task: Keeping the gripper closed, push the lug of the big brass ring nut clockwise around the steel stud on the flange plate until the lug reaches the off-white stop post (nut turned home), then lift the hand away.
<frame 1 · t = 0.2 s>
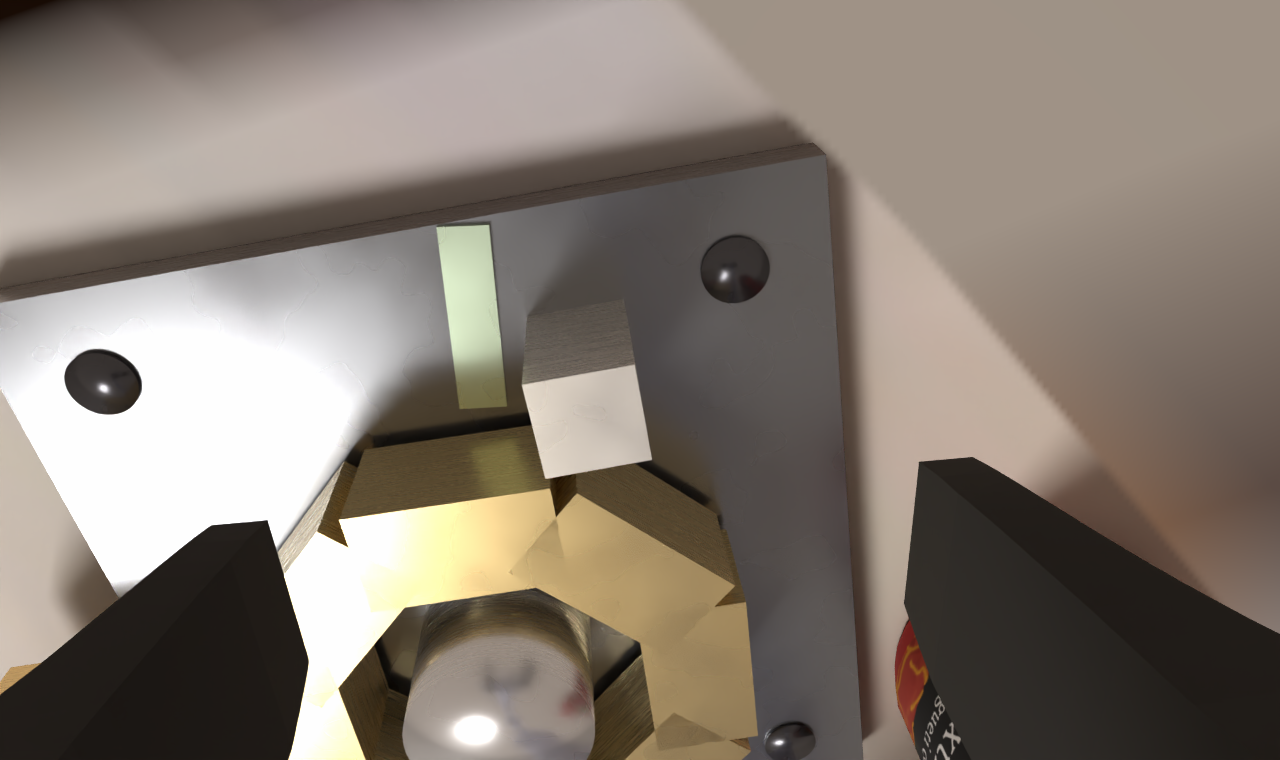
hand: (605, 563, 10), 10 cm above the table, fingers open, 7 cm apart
canned food: (1021, 638, 25), on the table
flange plate: (509, 593, 23), on the table
ring nut: (374, 687, 21), point 3 cm above the table, hinge at 88.0°
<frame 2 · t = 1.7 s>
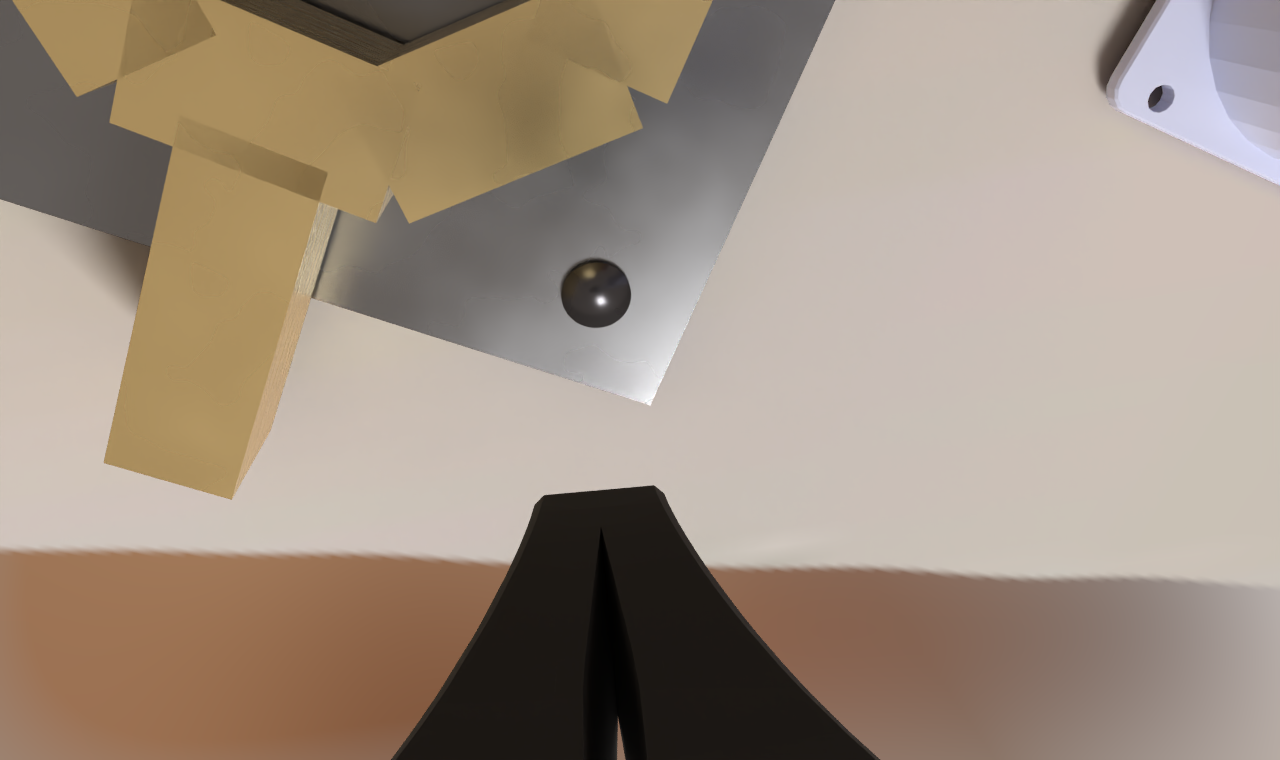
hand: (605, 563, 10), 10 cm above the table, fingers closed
ring nut: (310, 6, 14), point 3 cm above the table, hinge at 88.0°
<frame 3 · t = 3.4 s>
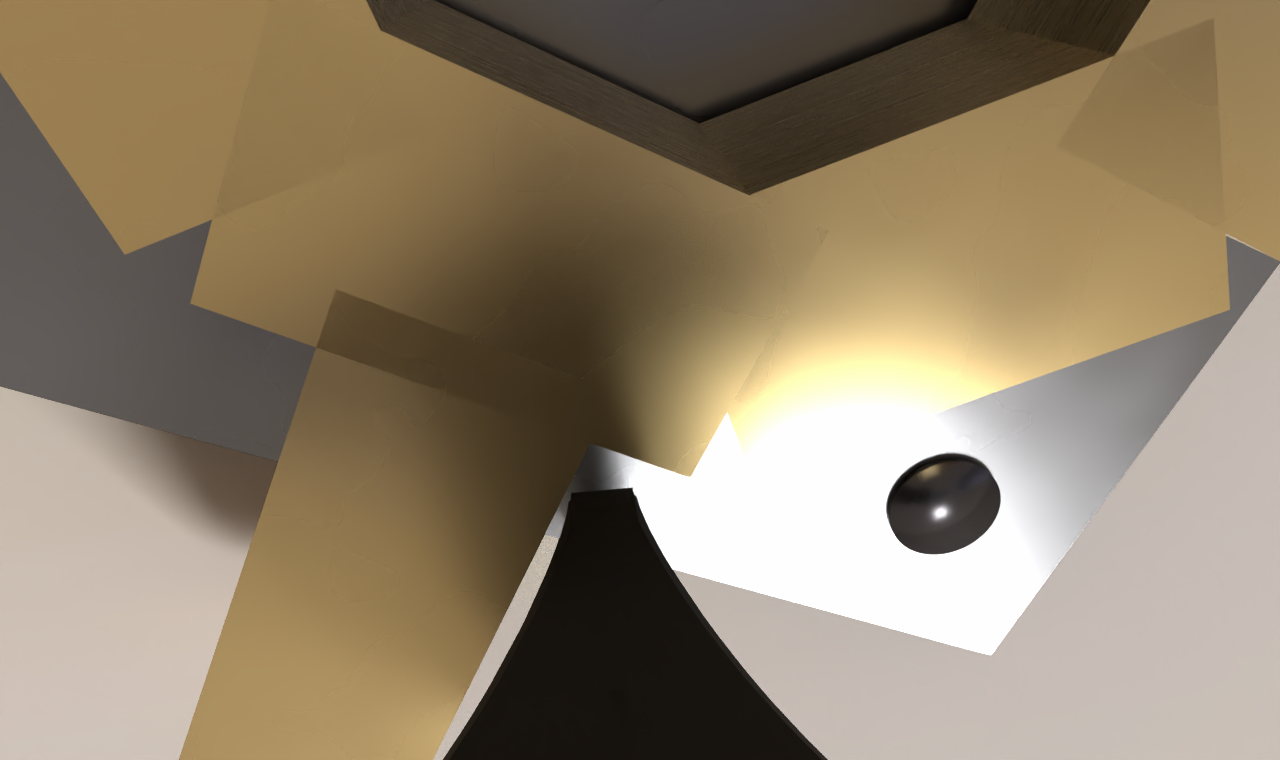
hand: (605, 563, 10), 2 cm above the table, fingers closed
ring nut: (582, 62, 7), point 3 cm above the table, hinge at 87.2°, touching gripper
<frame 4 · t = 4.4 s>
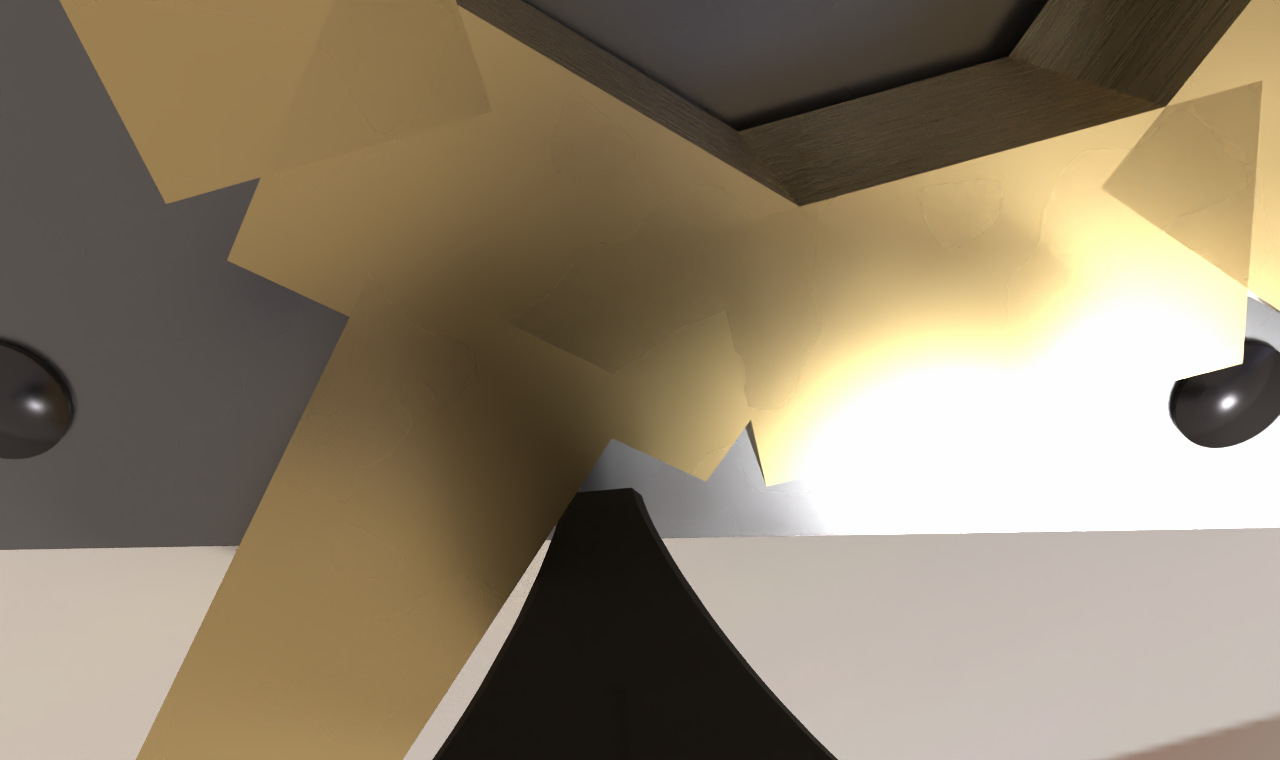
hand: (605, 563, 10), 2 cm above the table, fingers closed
ring nut: (639, 58, 7), point 3 cm above the table, hinge at 61.6°, touching gripper
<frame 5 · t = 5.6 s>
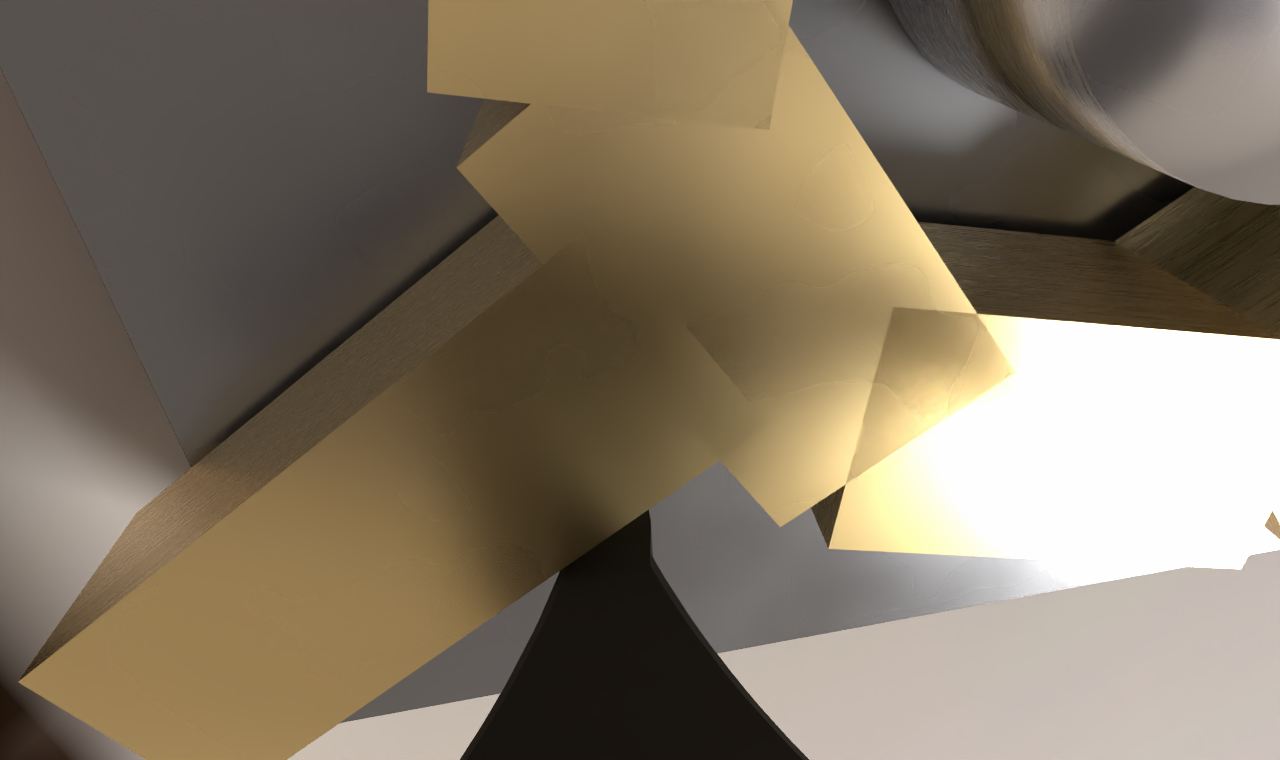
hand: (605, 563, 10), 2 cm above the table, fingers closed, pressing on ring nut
ring nut: (861, 126, 7), point 3 cm above the table, hinge at 28.5°, touching gripper
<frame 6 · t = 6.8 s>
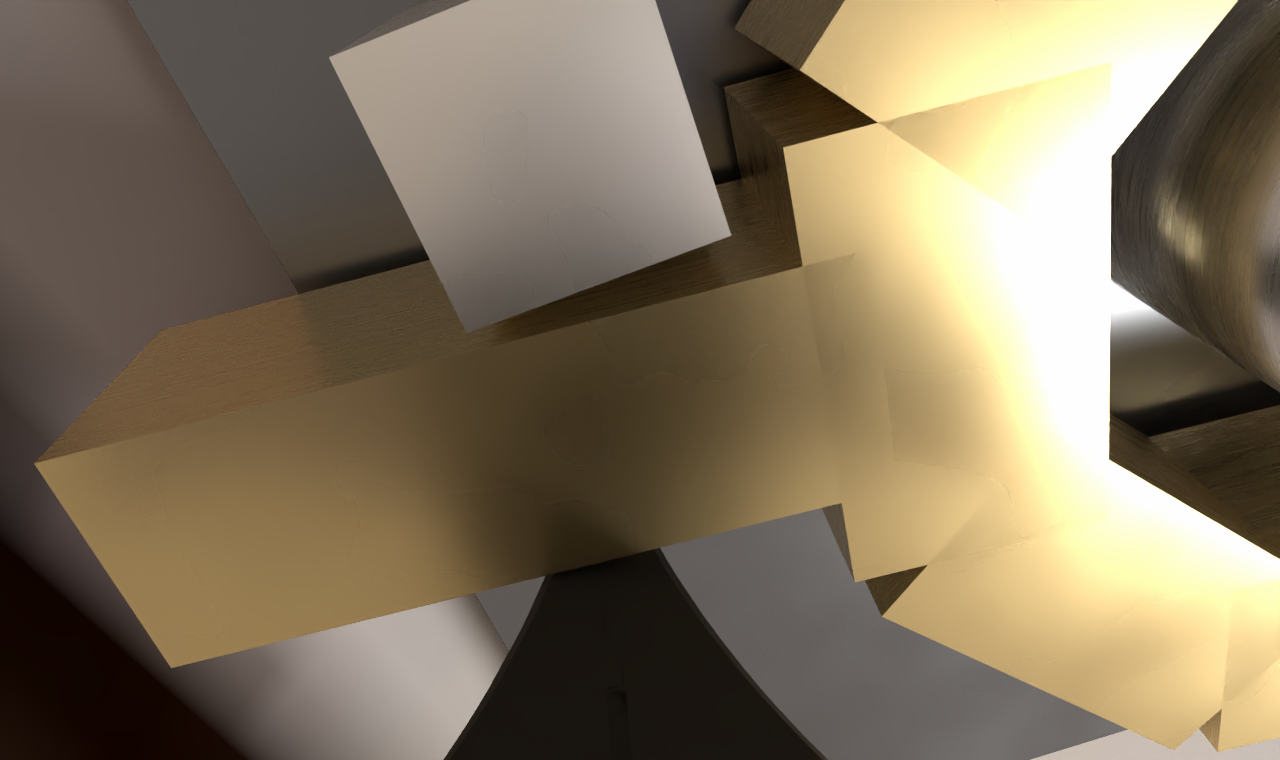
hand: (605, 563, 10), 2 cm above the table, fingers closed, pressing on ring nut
flange plate: (1205, 119, 10), on the table
ring nut: (1056, 260, 8), point 3 cm above the table, hinge at -6.2°, touching gripper
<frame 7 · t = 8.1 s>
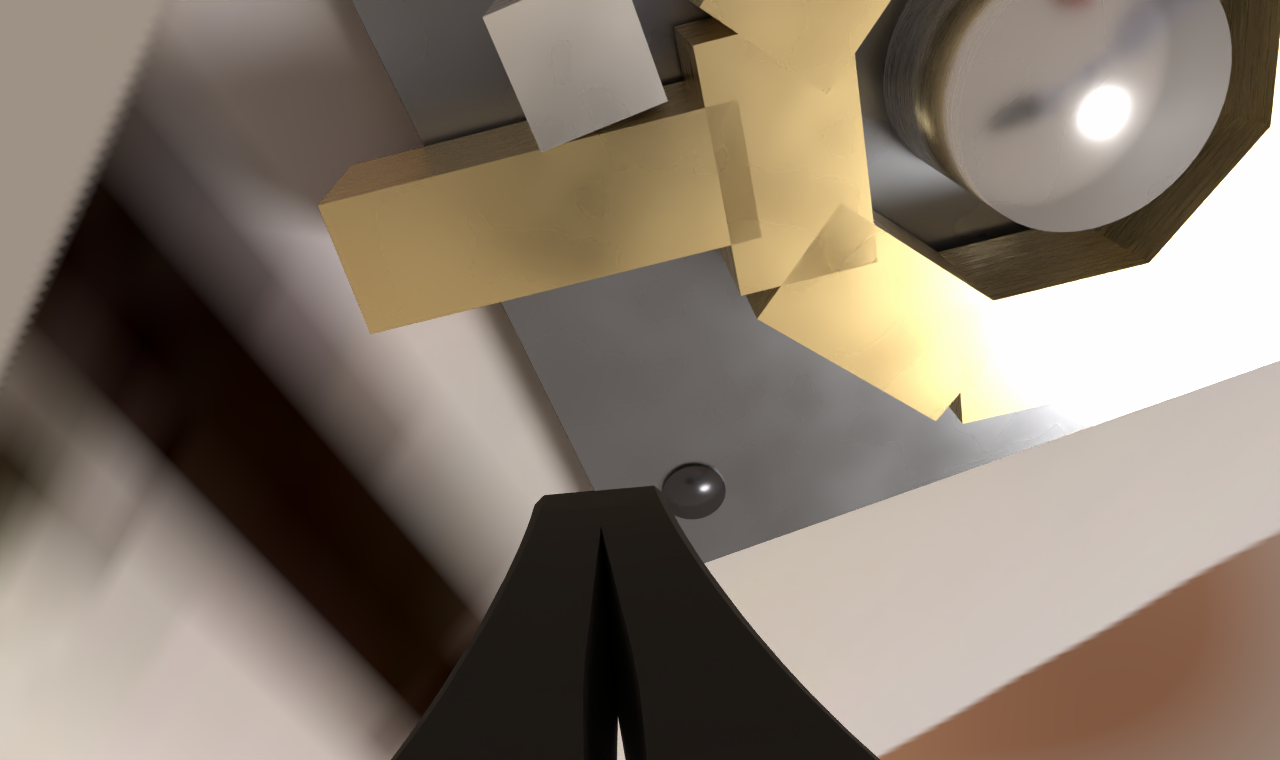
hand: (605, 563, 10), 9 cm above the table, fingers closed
flange plate: (969, 56, 17), on the table
ring nut: (853, 122, 15), point 3 cm above the table, hinge at -7.9°, touching flange plate
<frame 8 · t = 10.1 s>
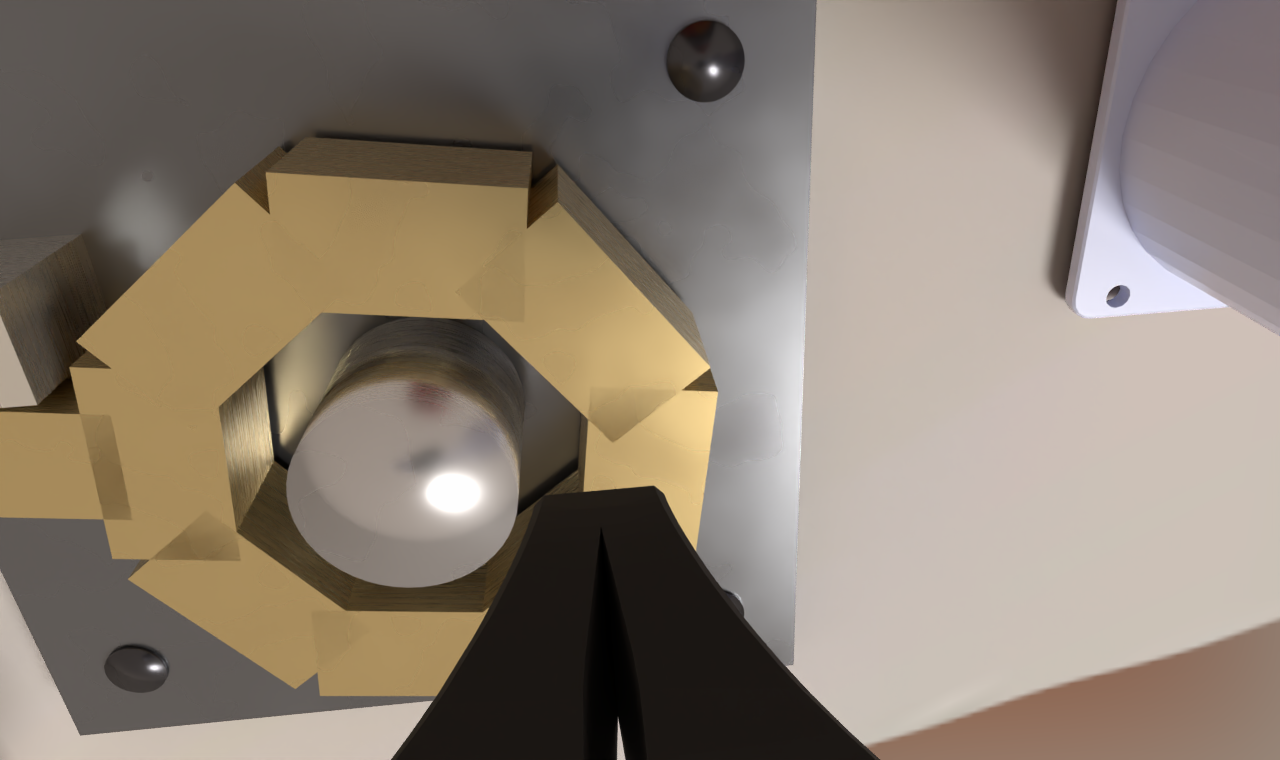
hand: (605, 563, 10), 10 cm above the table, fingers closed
flange plate: (435, 381, 20), on the table
ring nut: (259, 436, 17), point 3 cm above the table, hinge at -7.9°, touching flange plate
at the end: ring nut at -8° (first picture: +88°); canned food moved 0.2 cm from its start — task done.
